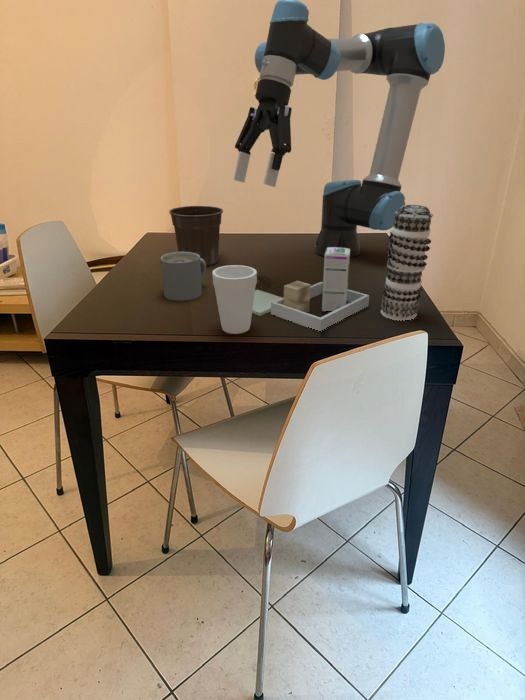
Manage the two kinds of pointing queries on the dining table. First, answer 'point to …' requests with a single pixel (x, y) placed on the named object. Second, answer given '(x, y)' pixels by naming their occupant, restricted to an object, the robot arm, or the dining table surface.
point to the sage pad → (263, 302)
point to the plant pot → (198, 231)
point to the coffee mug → (182, 275)
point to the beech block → (297, 296)
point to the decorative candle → (406, 262)
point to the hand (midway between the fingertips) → (253, 183)
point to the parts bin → (321, 323)
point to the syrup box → (335, 278)
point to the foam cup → (235, 296)
